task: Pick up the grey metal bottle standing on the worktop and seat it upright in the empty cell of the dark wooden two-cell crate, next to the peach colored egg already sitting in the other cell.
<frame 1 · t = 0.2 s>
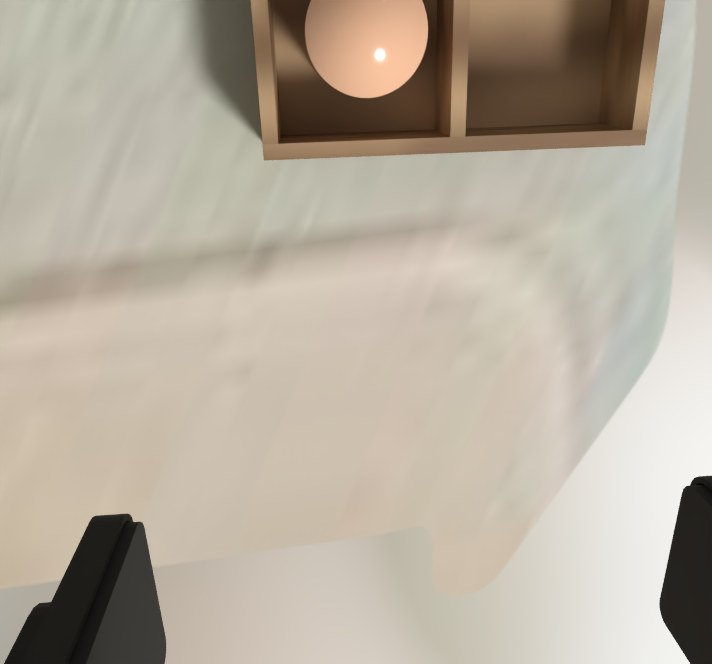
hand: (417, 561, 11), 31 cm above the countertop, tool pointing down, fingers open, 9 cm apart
peach colored egg: (356, 38, 35), point 1 cm above the countertop, touching crate
crate: (441, 36, 36), on the countertop
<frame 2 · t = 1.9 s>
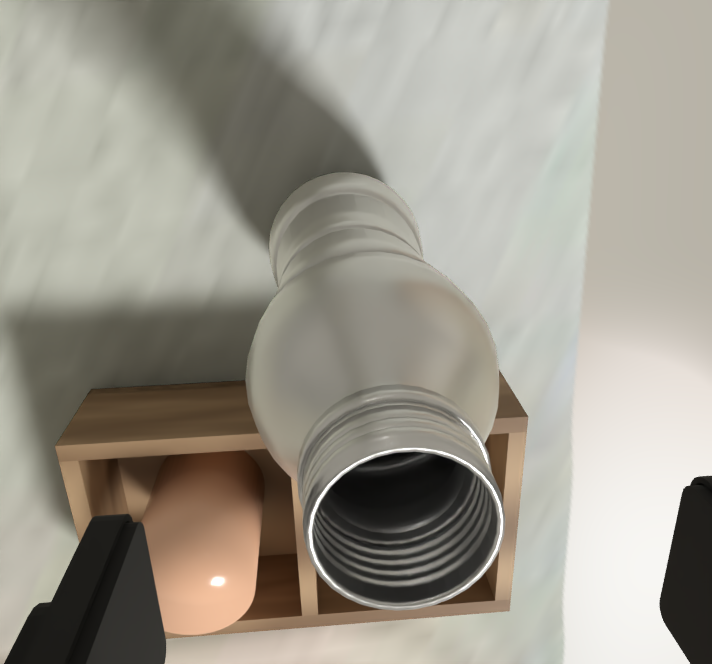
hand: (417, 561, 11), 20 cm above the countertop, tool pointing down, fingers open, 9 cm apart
peach colored egg: (211, 485, 34), point 1 cm above the countertop, touching crate
crate: (304, 472, 34), on the countertop
grey metal bottle: (342, 234, 30), on the countertop
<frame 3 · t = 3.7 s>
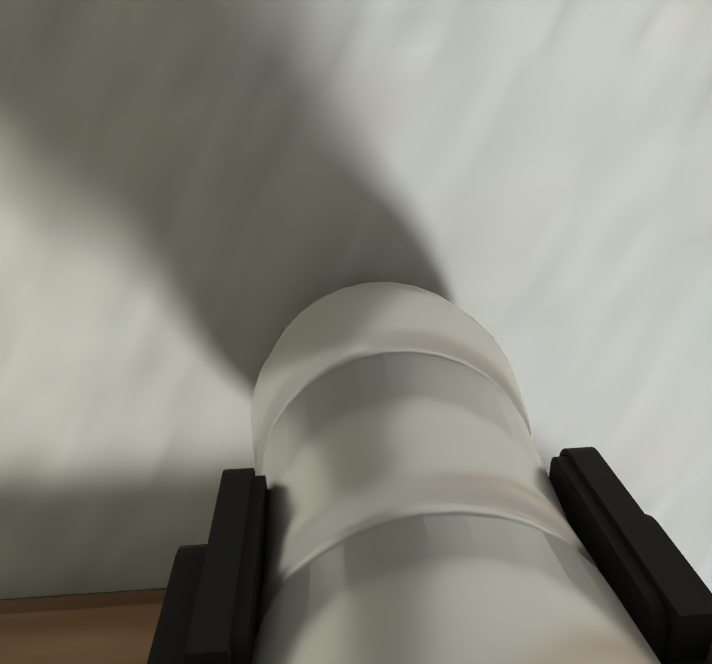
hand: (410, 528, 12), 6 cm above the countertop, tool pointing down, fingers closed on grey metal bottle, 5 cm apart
grey metal bottle: (375, 369, 18), on the countertop, touching gripper
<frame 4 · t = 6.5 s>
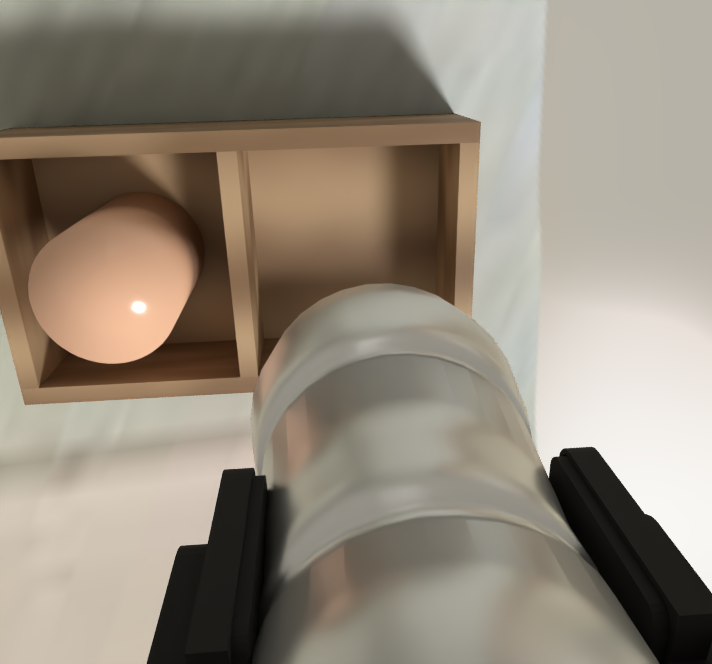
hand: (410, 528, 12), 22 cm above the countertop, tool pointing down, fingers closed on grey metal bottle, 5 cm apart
peach colored egg: (146, 249, 31), point 1 cm above the countertop, touching crate
crate: (248, 242, 32), on the countertop
grey metal bottle: (375, 371, 18), point 15 cm above the countertop, touching gripper
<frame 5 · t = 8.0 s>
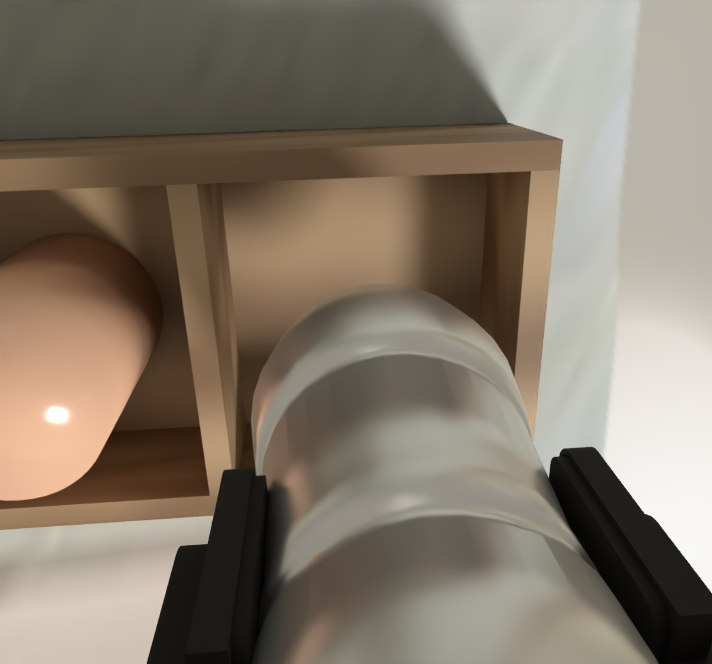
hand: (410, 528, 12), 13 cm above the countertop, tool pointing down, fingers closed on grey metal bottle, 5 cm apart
peach colored egg: (82, 310, 23), point 1 cm above the countertop, touching crate
crate: (224, 298, 23), on the countertop
grey metal bottle: (375, 371, 18), point 6 cm above the countertop, touching gripper
when the fingers open (9 cm above the countertop, at t = 9.2 s): grey metal bottle drops 2 cm, resting on crate.
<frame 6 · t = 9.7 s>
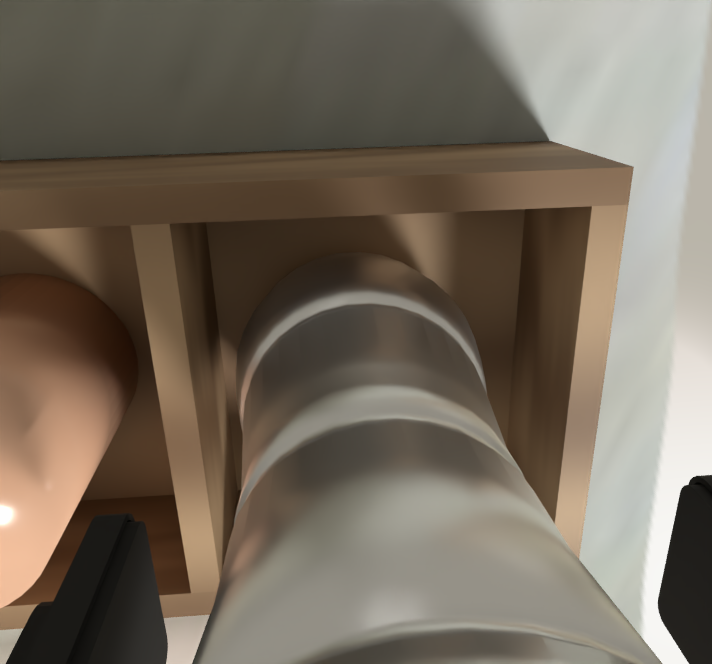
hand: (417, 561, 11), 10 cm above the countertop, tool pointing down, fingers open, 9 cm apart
peach colored egg: (41, 363, 19), point 1 cm above the countertop, touching crate
crate: (211, 346, 20), on the countertop
grey metal bottle: (351, 336, 20), resting on crate
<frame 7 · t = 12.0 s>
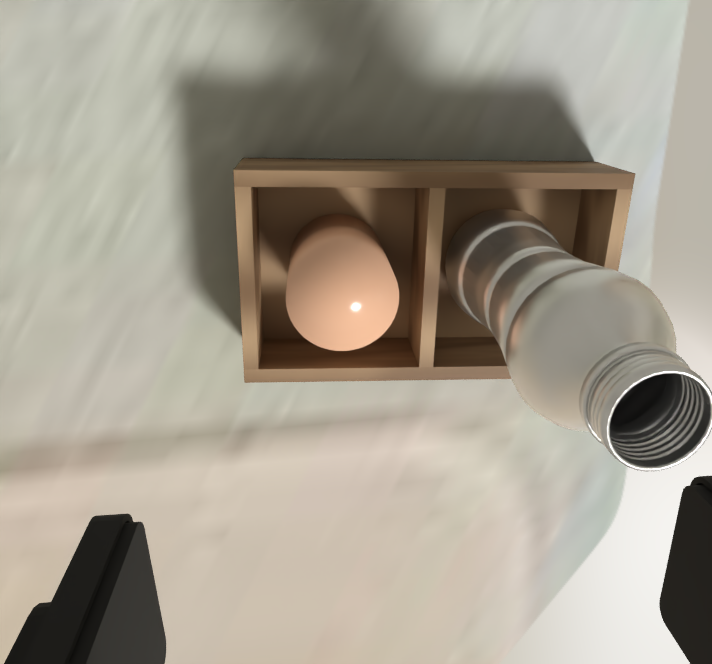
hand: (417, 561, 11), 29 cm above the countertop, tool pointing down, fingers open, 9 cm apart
peach colored egg: (336, 260, 38), point 1 cm above the countertop, touching crate
crate: (416, 257, 39), on the countertop
grey metal bottle: (489, 255, 39), resting on crate
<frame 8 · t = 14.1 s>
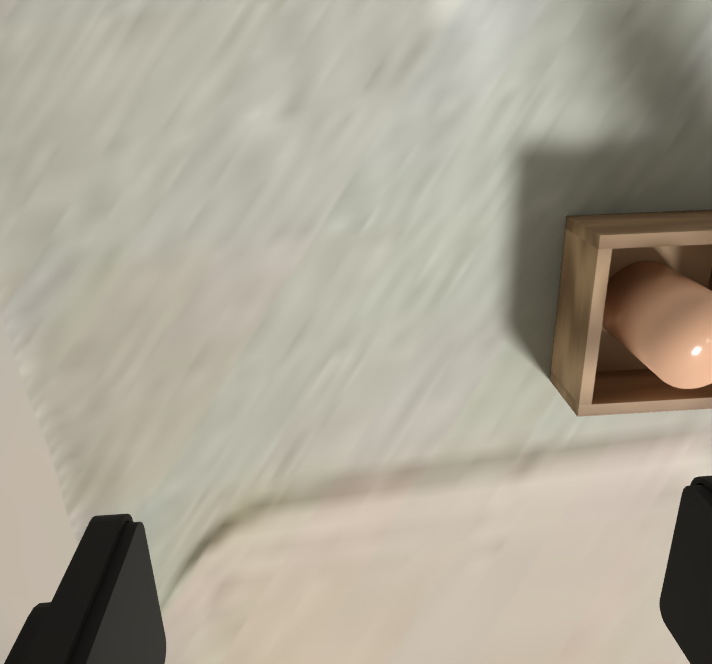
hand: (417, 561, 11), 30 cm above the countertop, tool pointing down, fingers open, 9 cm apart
peach colored egg: (639, 301, 42), point 1 cm above the countertop, touching crate
crate: (706, 295, 43), on the countertop
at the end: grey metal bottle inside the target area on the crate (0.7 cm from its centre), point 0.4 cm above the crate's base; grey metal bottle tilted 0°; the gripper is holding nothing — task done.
